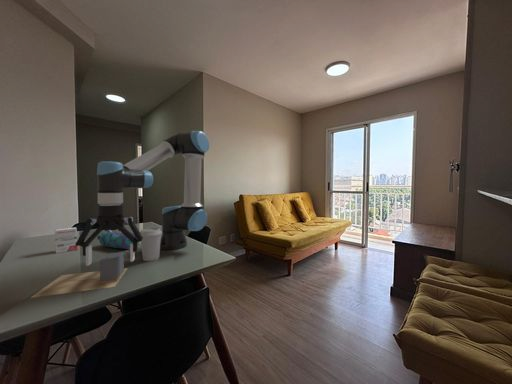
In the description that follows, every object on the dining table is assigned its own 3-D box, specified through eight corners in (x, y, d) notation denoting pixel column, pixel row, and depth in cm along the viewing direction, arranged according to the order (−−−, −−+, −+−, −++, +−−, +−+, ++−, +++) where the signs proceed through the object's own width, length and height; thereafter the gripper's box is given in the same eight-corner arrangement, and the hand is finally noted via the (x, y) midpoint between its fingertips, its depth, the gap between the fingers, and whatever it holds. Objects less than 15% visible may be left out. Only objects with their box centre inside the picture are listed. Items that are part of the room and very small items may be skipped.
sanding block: (109, 273, 78) (108, 253, 78) (124, 272, 80) (123, 251, 79) (100, 283, 71) (99, 260, 70) (117, 281, 72) (116, 259, 72)
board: (128, 271, 84) (128, 267, 84) (114, 291, 68) (114, 286, 68) (61, 279, 77) (61, 275, 77) (30, 302, 62) (30, 297, 62)
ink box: (77, 247, 114) (76, 226, 114) (77, 249, 111) (76, 228, 110) (56, 251, 109) (55, 229, 108) (55, 253, 105) (54, 230, 104)
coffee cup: (163, 262, 93) (163, 230, 92) (139, 267, 88) (138, 232, 87) (161, 256, 101) (161, 226, 100) (139, 260, 96) (138, 228, 96)
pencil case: (97, 247, 115) (96, 230, 114) (112, 243, 123) (112, 227, 123) (123, 251, 108) (123, 233, 107) (138, 247, 116) (138, 230, 116)
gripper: (150, 203, 81) (151, 255, 82) (74, 204, 74) (75, 262, 74) (147, 204, 74) (147, 262, 75) (61, 206, 67) (63, 270, 67)
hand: (111, 262), depth 75 cm, fingers open, 13 cm apart
